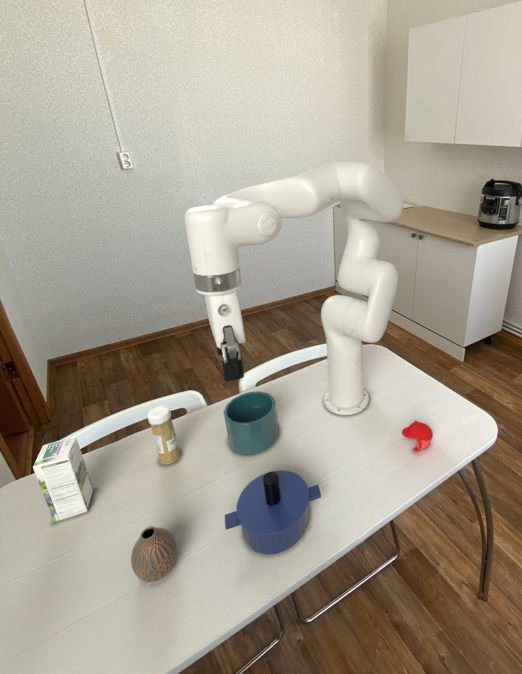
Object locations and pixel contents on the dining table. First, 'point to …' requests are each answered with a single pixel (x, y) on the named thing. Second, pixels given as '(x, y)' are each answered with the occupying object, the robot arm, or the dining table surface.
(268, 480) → the lid
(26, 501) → the dining table surface
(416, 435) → the red rounded piece
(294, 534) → the pan
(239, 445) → the pot
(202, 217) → the robot arm
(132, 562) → the vase
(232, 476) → the dining table surface
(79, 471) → the syrup box
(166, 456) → the spice jar
